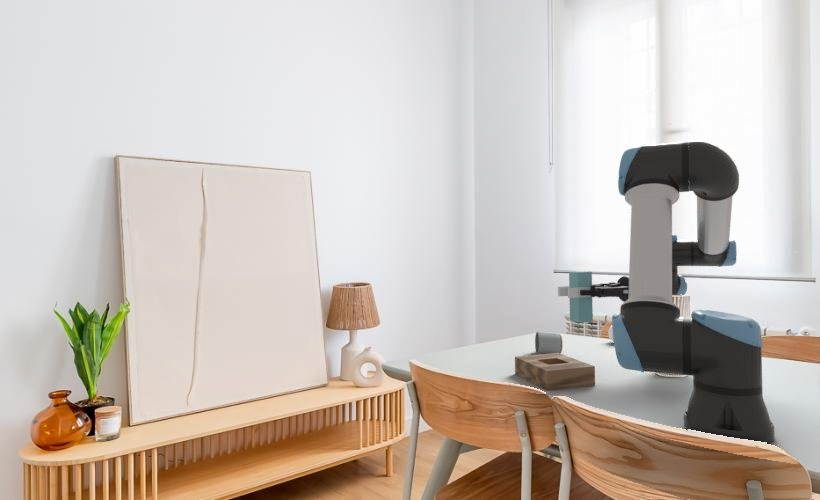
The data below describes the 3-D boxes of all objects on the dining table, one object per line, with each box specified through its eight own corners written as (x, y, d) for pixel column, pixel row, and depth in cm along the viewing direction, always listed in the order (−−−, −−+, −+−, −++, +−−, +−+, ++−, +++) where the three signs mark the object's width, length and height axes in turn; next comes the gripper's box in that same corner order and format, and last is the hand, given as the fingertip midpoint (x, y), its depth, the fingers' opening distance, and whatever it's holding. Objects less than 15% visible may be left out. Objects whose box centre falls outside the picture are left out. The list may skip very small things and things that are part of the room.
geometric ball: (613, 350, 192) (600, 331, 195) (630, 341, 194) (616, 323, 197) (622, 343, 185) (608, 324, 188) (639, 334, 187) (625, 315, 191)
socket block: (595, 385, 137) (594, 366, 137) (547, 390, 133) (547, 371, 133) (558, 369, 154) (557, 352, 154) (515, 373, 150) (514, 356, 150)
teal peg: (592, 321, 145) (591, 271, 145) (578, 322, 144) (577, 272, 144) (583, 319, 149) (582, 271, 149) (569, 320, 148) (569, 271, 148)
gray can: (563, 356, 172) (563, 333, 172) (538, 356, 172) (538, 333, 172) (556, 350, 182) (555, 328, 182) (532, 350, 183) (532, 328, 183)
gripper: (656, 304, 142) (581, 309, 136) (616, 298, 159) (547, 302, 153) (656, 277, 142) (581, 280, 136) (615, 274, 159) (547, 277, 153)
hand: (563, 292), depth 145 cm, fingers closed on teal peg, 4 cm apart
